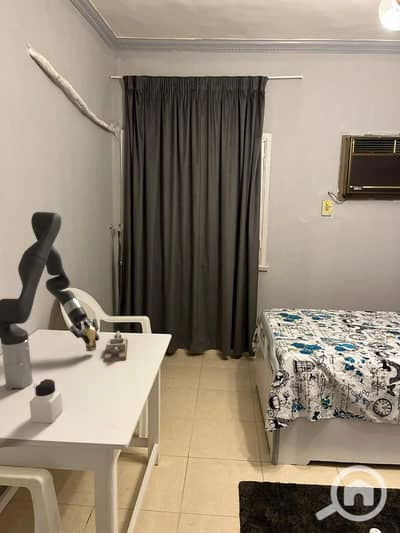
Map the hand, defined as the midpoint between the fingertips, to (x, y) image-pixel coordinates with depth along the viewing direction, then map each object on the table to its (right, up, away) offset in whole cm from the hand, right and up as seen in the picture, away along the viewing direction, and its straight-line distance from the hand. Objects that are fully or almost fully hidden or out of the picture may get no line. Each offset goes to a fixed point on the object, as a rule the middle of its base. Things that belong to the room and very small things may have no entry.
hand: (93, 341), depth 170 cm
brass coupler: (-1, -4, +2) cm, 5 cm away
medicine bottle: (-1, -15, -47) cm, 50 cm away
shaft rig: (+9, -5, +6) cm, 12 cm away
